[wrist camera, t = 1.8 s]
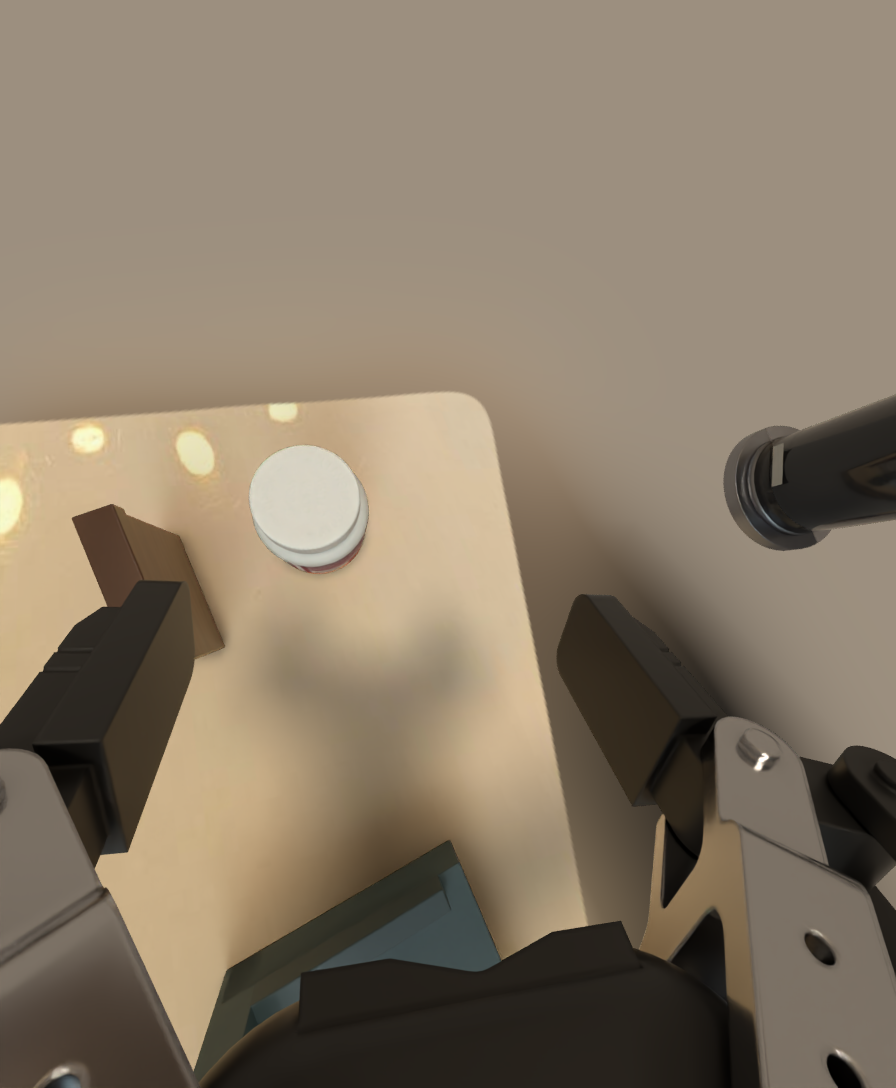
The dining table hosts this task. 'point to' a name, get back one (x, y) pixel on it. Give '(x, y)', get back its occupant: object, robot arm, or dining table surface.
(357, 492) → the pill bottle
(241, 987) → the sofa
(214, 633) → the brown t-shaped panel
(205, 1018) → the dining table surface
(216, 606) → the dining table surface
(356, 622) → the dining table surface
